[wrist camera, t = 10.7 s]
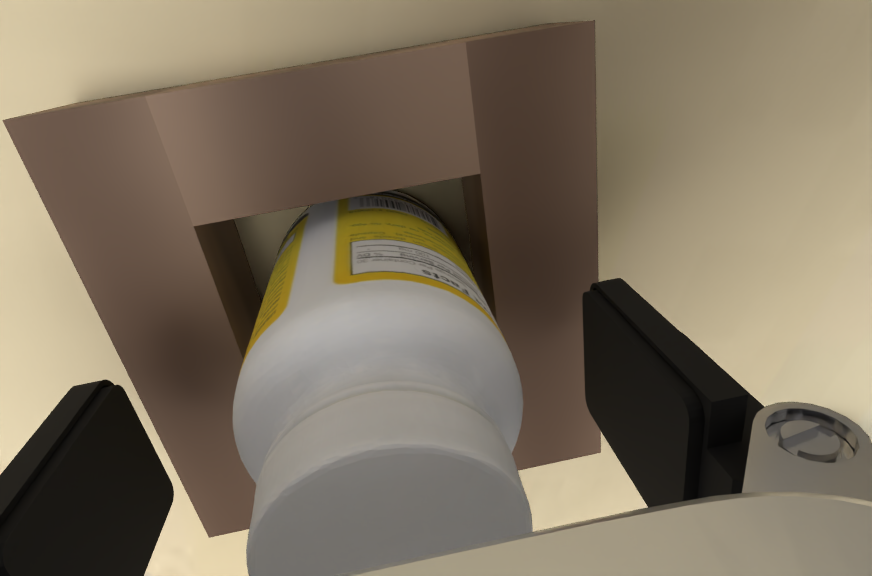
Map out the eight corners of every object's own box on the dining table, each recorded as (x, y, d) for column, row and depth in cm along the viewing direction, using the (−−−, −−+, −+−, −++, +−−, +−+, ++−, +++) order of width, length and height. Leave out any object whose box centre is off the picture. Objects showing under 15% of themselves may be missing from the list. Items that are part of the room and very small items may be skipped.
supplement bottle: (332, 373, 17) (308, 718, 9) (242, 230, 15) (82, 508, 6) (484, 307, 17) (620, 594, 8) (417, 151, 15) (510, 323, 6)
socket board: (548, 23, 14) (594, 20, 11) (566, 393, 19) (600, 452, 16) (75, 103, 13) (2, 120, 10) (230, 464, 18) (209, 537, 16)
